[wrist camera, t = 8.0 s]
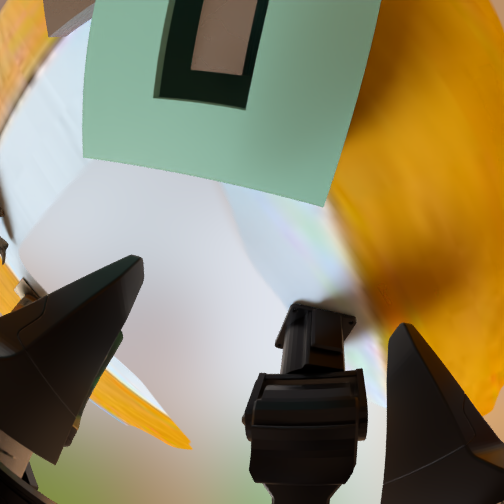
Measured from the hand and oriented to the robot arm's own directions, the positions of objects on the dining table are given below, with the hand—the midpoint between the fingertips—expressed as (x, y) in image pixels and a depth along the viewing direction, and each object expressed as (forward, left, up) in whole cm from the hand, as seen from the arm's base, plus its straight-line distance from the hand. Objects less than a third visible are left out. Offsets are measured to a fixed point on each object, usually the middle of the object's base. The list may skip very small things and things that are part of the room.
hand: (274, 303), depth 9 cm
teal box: (+8, +5, -12) cm, 16 cm away
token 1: (+12, +19, -13) cm, 26 cm away
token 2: (+9, +5, -12) cm, 15 cm away
